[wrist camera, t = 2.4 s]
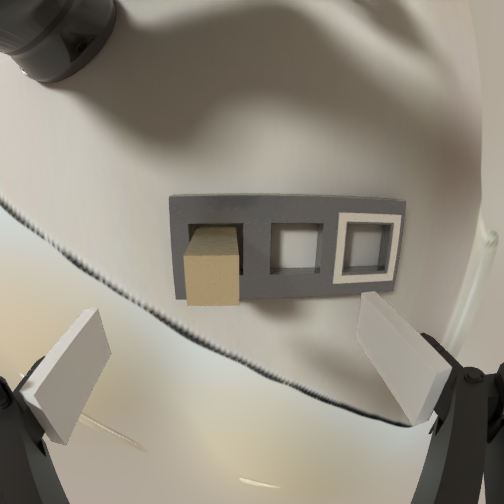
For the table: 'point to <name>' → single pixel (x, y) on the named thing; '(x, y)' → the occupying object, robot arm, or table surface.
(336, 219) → the grey flat slotted block
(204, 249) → the peg
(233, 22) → the table surface
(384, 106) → the table surface
